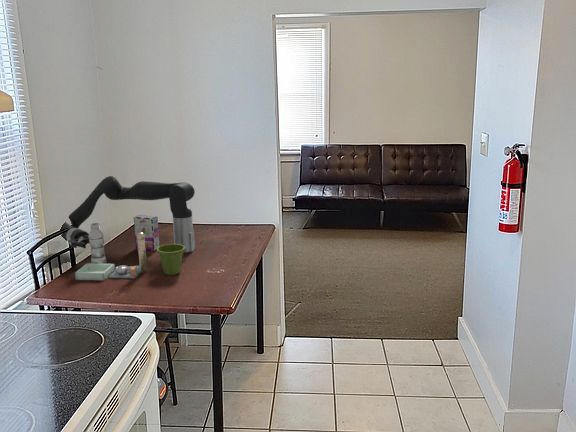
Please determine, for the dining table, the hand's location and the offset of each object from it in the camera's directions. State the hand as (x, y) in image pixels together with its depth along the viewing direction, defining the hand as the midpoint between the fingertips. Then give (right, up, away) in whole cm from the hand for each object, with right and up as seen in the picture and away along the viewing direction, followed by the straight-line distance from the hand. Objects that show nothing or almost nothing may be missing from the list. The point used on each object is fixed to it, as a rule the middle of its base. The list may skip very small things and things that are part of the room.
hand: (94, 243), depth 243 cm
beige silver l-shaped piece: (+19, -11, -7) cm, 23 cm away
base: (+16, -13, -8) cm, 22 cm away
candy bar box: (+17, -4, +28) cm, 33 cm away
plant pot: (+36, -12, -6) cm, 39 cm away
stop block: (+20, -13, -9) cm, 26 cm away
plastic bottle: (+2, -11, +2) cm, 11 cm away
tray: (+4, -13, -8) cm, 16 cm away
